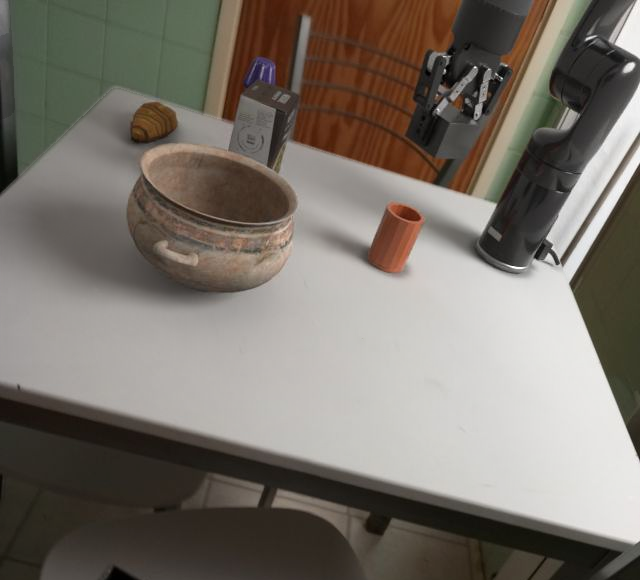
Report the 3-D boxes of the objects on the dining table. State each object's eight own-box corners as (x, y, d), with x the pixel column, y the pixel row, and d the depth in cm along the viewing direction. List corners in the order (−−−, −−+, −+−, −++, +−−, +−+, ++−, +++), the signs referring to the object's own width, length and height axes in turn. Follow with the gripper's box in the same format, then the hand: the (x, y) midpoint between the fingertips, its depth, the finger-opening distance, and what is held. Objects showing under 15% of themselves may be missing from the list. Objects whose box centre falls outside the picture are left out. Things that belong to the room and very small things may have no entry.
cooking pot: (178, 209, 92) (194, 119, 84) (305, 266, 92) (333, 181, 84) (71, 286, 73) (79, 179, 65) (229, 360, 73) (257, 261, 65)
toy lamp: (223, 162, 107) (248, 50, 97) (252, 169, 109) (280, 59, 98) (223, 175, 104) (249, 60, 93) (253, 183, 105) (282, 70, 95)
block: (436, 137, 91) (450, 103, 88) (465, 159, 88) (481, 125, 85) (404, 135, 88) (418, 100, 85) (434, 158, 85) (449, 122, 82)
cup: (387, 250, 103) (407, 201, 98) (410, 271, 100) (432, 222, 95) (359, 252, 99) (379, 202, 94) (382, 274, 97) (404, 224, 92)
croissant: (155, 155, 102) (160, 122, 99) (113, 137, 102) (117, 103, 99) (190, 130, 112) (195, 100, 109) (152, 114, 112) (156, 83, 109)
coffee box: (256, 227, 95) (287, 112, 85) (212, 211, 95) (238, 92, 85) (272, 203, 102) (302, 94, 92) (231, 187, 102) (257, 76, 91)
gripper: (480, 1, 71) (416, 157, 81) (559, 20, 79) (492, 159, 90) (433, -25, 74) (379, 127, 85) (514, -4, 83) (455, 132, 94)
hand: (437, 143), depth 87 cm, fingers closed on block, 6 cm apart
